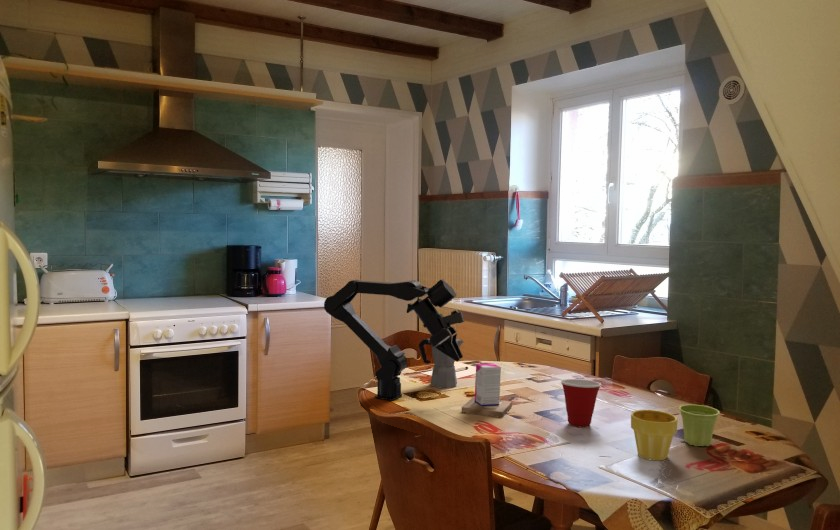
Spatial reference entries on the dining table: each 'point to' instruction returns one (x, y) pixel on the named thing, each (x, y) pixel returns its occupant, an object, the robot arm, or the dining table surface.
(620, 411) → the dining table surface
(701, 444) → the plant pot
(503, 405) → the base board
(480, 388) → the supplement box
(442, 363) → the coffeepot
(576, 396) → the plastic cup
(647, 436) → the plant pot
